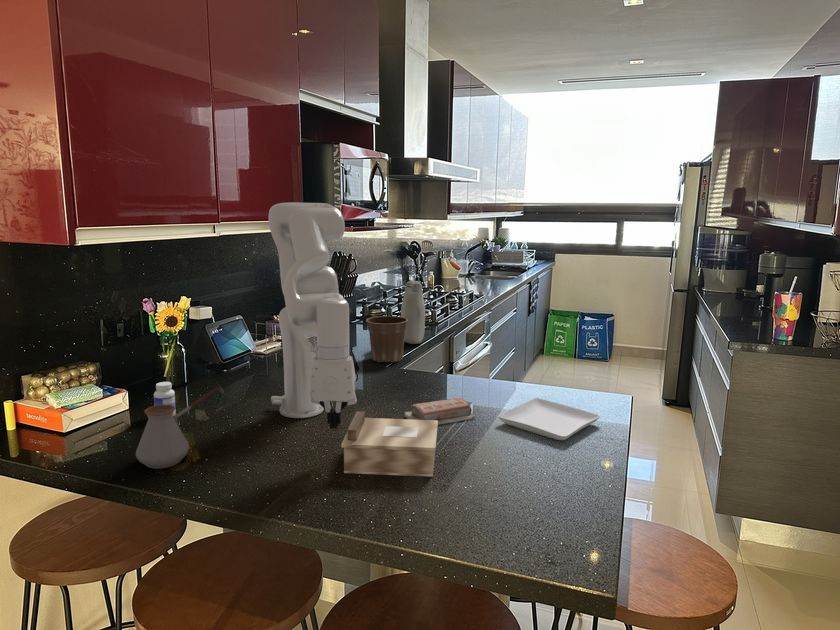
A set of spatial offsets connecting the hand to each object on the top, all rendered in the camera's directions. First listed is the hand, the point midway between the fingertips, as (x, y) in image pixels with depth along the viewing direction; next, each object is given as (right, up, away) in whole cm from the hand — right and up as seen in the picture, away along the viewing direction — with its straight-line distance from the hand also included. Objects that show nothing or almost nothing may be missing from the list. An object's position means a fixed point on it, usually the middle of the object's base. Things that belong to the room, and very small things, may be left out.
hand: (334, 426), depth 135 cm
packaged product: (+26, -4, +28) cm, 39 cm away
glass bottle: (+17, +14, +117) cm, 119 cm away
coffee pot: (-36, -7, +2) cm, 37 cm away
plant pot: (+7, +9, +90) cm, 91 cm away
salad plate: (+56, -5, +24) cm, 61 cm away
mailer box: (+14, -8, +1) cm, 16 cm away
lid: (+14, -2, 0) cm, 14 cm away
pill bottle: (-52, -2, +26) cm, 58 cm away
